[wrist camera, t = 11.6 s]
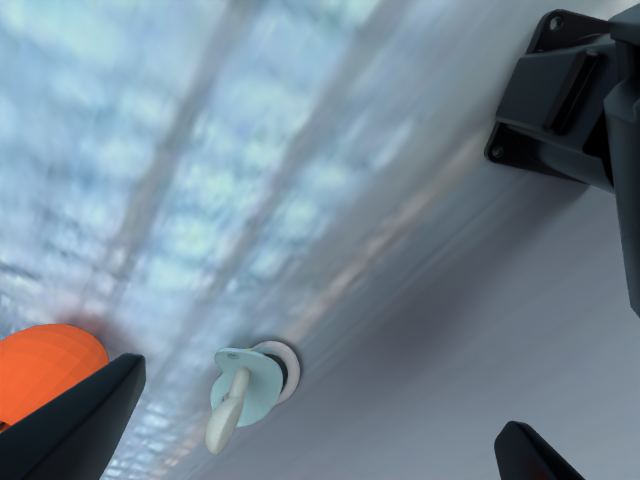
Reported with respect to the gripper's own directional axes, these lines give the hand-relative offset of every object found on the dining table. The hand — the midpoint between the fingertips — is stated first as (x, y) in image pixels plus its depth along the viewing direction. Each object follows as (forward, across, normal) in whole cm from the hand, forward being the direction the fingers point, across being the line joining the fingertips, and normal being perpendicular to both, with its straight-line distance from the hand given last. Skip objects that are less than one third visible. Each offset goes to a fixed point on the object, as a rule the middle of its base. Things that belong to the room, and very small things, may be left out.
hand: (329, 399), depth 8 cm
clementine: (+12, +15, +14) cm, 24 cm away
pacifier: (+12, +2, +13) cm, 18 cm away
